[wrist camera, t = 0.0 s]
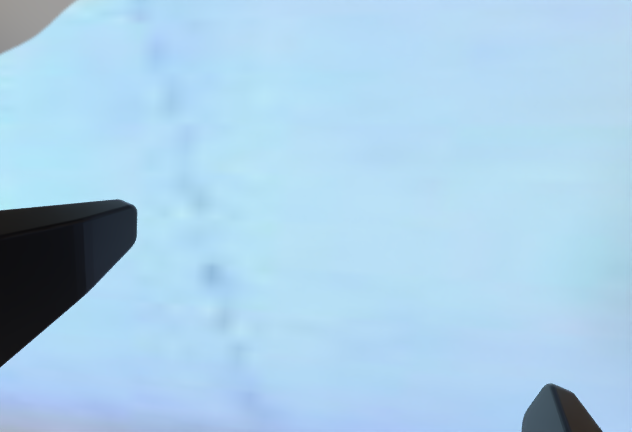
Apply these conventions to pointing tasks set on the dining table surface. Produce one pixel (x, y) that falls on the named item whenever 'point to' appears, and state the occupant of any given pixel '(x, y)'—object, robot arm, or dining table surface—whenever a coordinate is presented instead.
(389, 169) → the dining table surface
